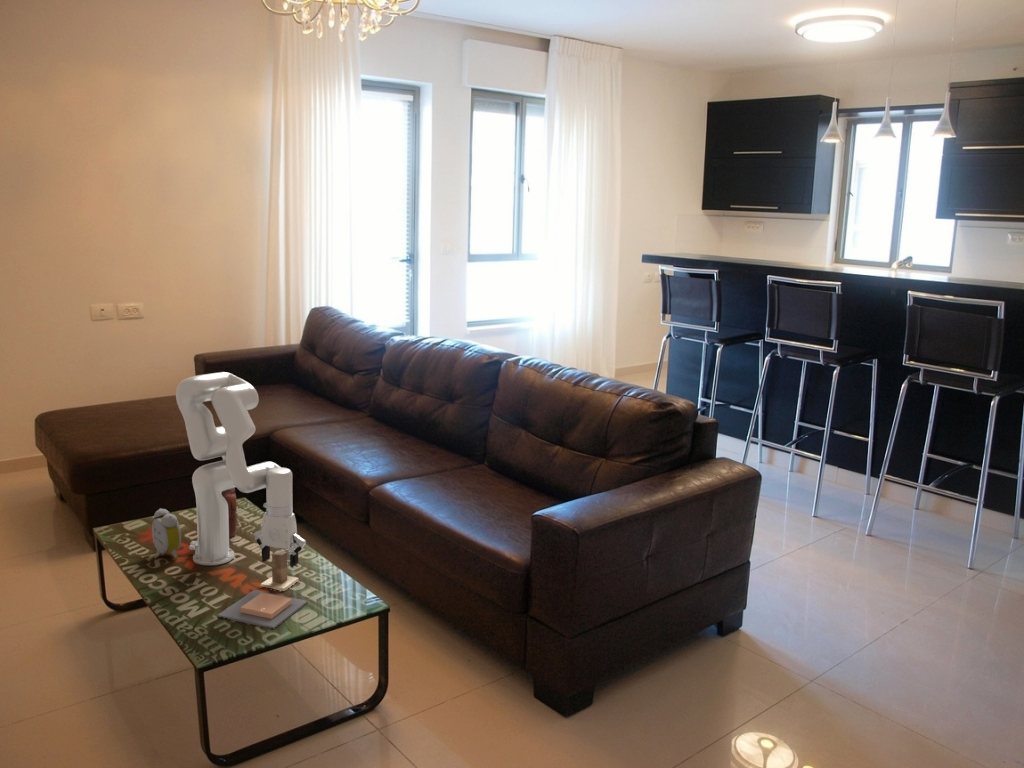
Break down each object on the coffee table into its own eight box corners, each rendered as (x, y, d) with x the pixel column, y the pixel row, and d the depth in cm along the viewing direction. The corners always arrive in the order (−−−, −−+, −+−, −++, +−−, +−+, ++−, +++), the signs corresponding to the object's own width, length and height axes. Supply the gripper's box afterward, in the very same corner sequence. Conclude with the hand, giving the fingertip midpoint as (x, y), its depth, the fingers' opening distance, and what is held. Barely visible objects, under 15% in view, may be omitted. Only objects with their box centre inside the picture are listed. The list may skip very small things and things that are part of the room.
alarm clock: (182, 559, 266) (181, 515, 263) (161, 564, 261) (159, 519, 258) (168, 548, 274) (166, 505, 271) (147, 553, 269) (145, 509, 266)
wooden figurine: (214, 527, 293) (212, 479, 289) (232, 525, 296) (231, 477, 292) (219, 539, 283) (218, 489, 279) (239, 537, 286) (238, 487, 282)
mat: (217, 616, 230) (217, 614, 229) (254, 591, 245) (254, 589, 245) (273, 629, 224) (273, 627, 224) (307, 602, 240) (307, 600, 240)
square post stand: (260, 587, 249) (260, 555, 247) (276, 577, 256) (275, 546, 254) (283, 592, 246) (283, 560, 244) (298, 581, 254) (298, 550, 252)
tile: (240, 607, 231) (271, 613, 228) (261, 592, 240) (291, 598, 237) (240, 612, 231) (271, 619, 228) (261, 597, 241) (291, 604, 238)
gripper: (247, 508, 246) (247, 562, 249) (298, 517, 241) (298, 572, 244) (261, 501, 253) (262, 553, 256) (311, 509, 248) (311, 563, 251)
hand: (279, 562), depth 250 cm, fingers open, 9 cm apart
